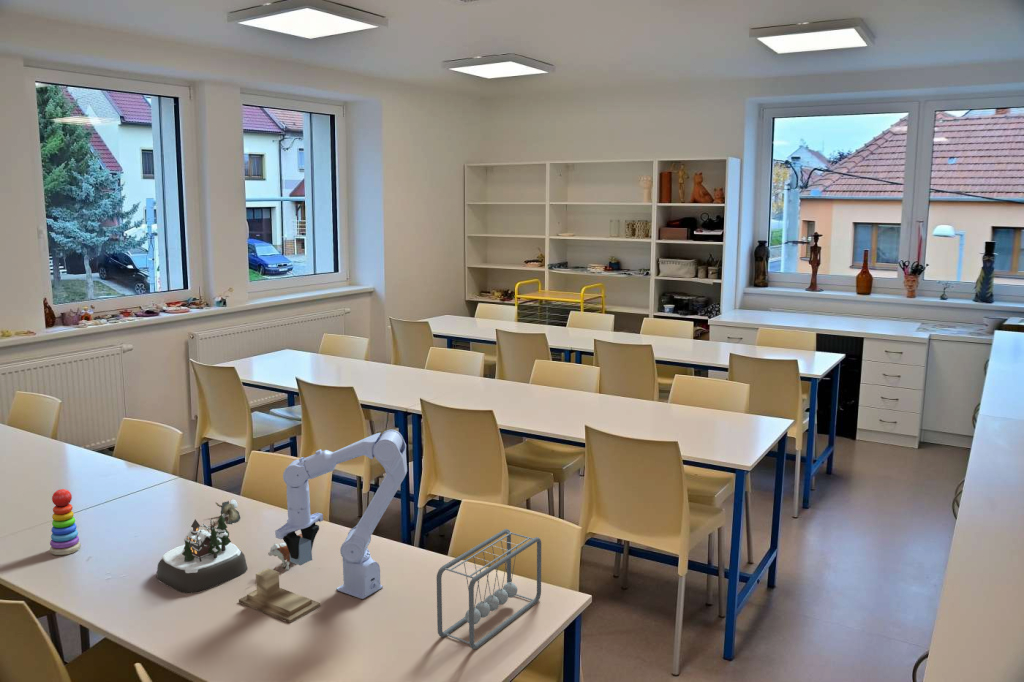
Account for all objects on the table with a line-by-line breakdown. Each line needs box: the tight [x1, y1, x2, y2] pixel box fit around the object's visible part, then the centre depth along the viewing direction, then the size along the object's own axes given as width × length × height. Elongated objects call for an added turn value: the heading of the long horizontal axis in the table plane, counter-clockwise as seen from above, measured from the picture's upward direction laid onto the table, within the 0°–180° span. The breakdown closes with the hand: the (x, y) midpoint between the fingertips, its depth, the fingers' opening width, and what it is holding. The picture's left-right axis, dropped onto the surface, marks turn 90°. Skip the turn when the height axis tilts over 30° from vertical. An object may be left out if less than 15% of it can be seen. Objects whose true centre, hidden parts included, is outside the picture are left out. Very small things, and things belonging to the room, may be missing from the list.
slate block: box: [290, 537, 313, 566], centre depth 214 cm, size 4×4×6 cm
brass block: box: [255, 567, 281, 598], centre depth 209 cm, size 4×4×6 cm
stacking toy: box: [49, 488, 82, 556], centre depth 237 cm, size 8×8×19 cm
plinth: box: [238, 587, 321, 624], centre depth 207 cm, size 19×10×2 cm, turn 57°
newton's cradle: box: [436, 528, 542, 650], centre depth 199 cm, size 30×10×18 cm, turn 146°
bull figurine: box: [267, 533, 302, 572], centre depth 229 cm, size 4×13×8 cm, turn 152°
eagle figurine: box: [215, 499, 241, 525], centre depth 262 cm, size 8×7×9 cm
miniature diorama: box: [156, 513, 248, 594], centre depth 223 cm, size 20×20×17 cm
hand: (301, 554), depth 214 cm, fingers closed on slate block, 4 cm apart
